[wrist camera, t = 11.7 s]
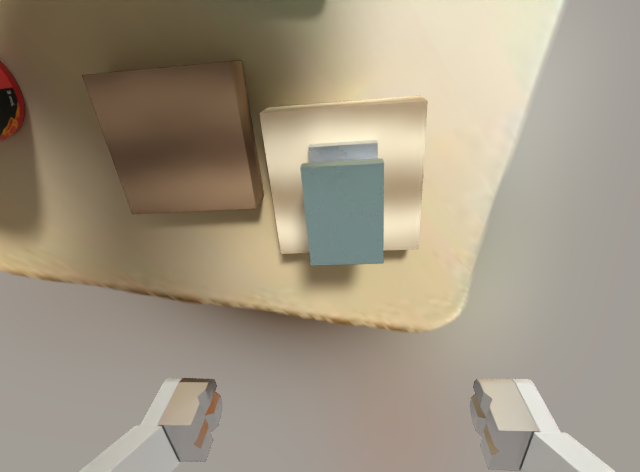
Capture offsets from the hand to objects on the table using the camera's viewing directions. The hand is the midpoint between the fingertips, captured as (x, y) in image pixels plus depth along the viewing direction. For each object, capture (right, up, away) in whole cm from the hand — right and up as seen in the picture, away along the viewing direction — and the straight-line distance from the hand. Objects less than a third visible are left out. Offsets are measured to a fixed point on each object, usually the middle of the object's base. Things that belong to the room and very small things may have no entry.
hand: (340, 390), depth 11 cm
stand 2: (+2, +10, +19) cm, 22 cm away
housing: (+1, +9, +17) cm, 19 cm away
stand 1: (-12, +13, +19) cm, 26 cm away
